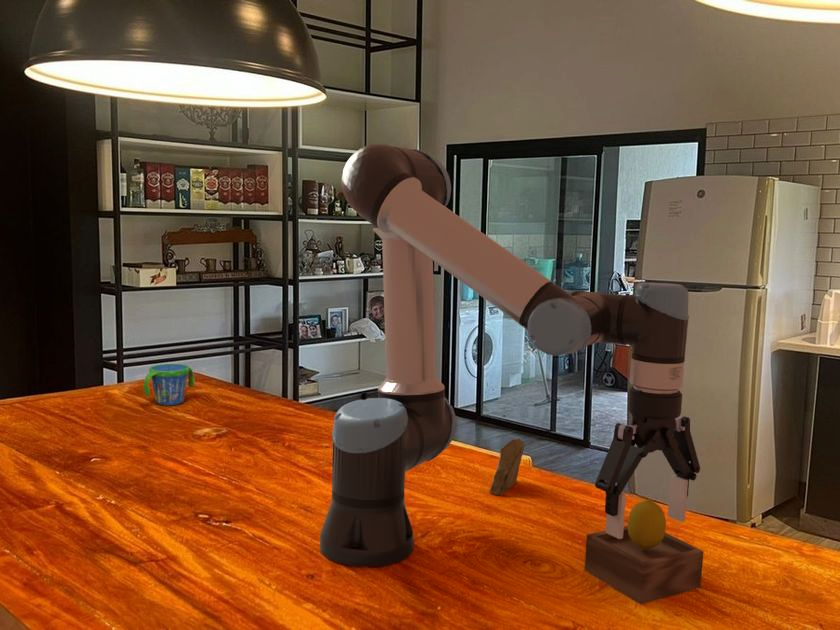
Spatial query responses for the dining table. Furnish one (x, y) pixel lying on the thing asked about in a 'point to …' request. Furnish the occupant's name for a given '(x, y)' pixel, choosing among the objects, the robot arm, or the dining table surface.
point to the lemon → (646, 524)
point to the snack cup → (169, 383)
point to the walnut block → (644, 566)
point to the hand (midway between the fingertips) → (646, 527)
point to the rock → (507, 466)
